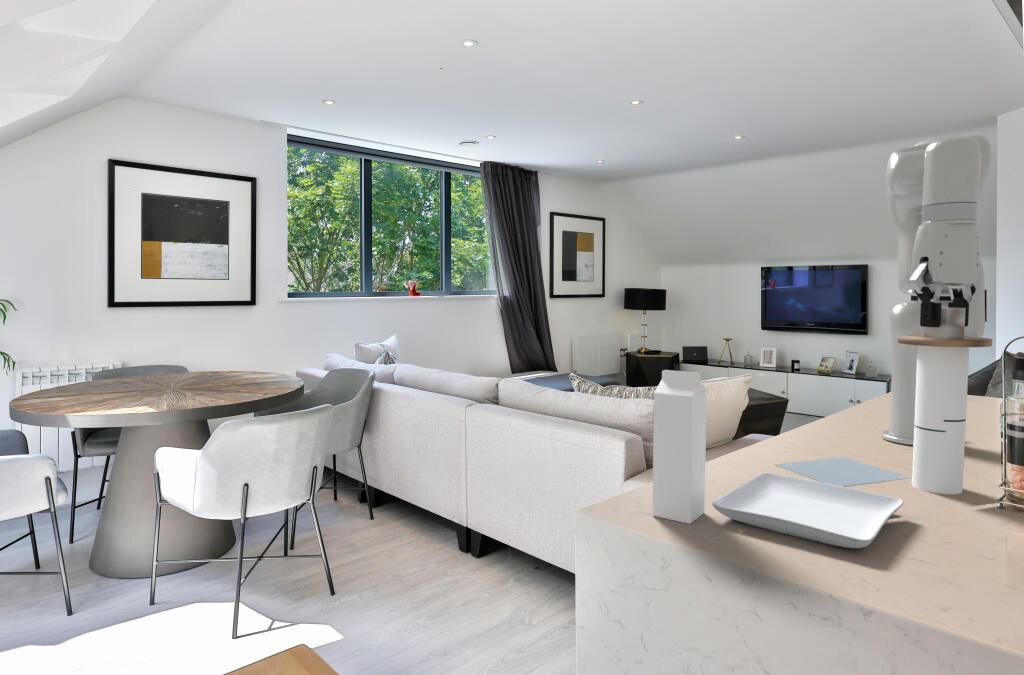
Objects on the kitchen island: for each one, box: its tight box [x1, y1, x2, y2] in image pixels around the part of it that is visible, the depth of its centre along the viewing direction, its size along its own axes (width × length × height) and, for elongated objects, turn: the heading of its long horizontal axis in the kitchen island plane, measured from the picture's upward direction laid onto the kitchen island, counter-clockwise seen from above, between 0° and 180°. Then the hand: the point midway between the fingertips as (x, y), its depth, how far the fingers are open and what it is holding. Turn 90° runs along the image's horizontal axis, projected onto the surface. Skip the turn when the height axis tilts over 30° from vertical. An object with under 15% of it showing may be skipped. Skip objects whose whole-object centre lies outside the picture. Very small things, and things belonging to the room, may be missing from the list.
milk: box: [652, 369, 708, 525], centre depth 95 cm, size 6×6×22 cm
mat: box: [774, 456, 912, 487], centre depth 117 cm, size 17×15×1 cm
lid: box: [898, 308, 993, 348], centre depth 105 cm, size 13×13×6 cm
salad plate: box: [711, 471, 904, 549], centre depth 94 cm, size 21×21×3 cm
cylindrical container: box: [911, 345, 970, 495], centre depth 106 cm, size 7×7×25 cm
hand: (943, 325), depth 105 cm, fingers open, 5 cm apart
